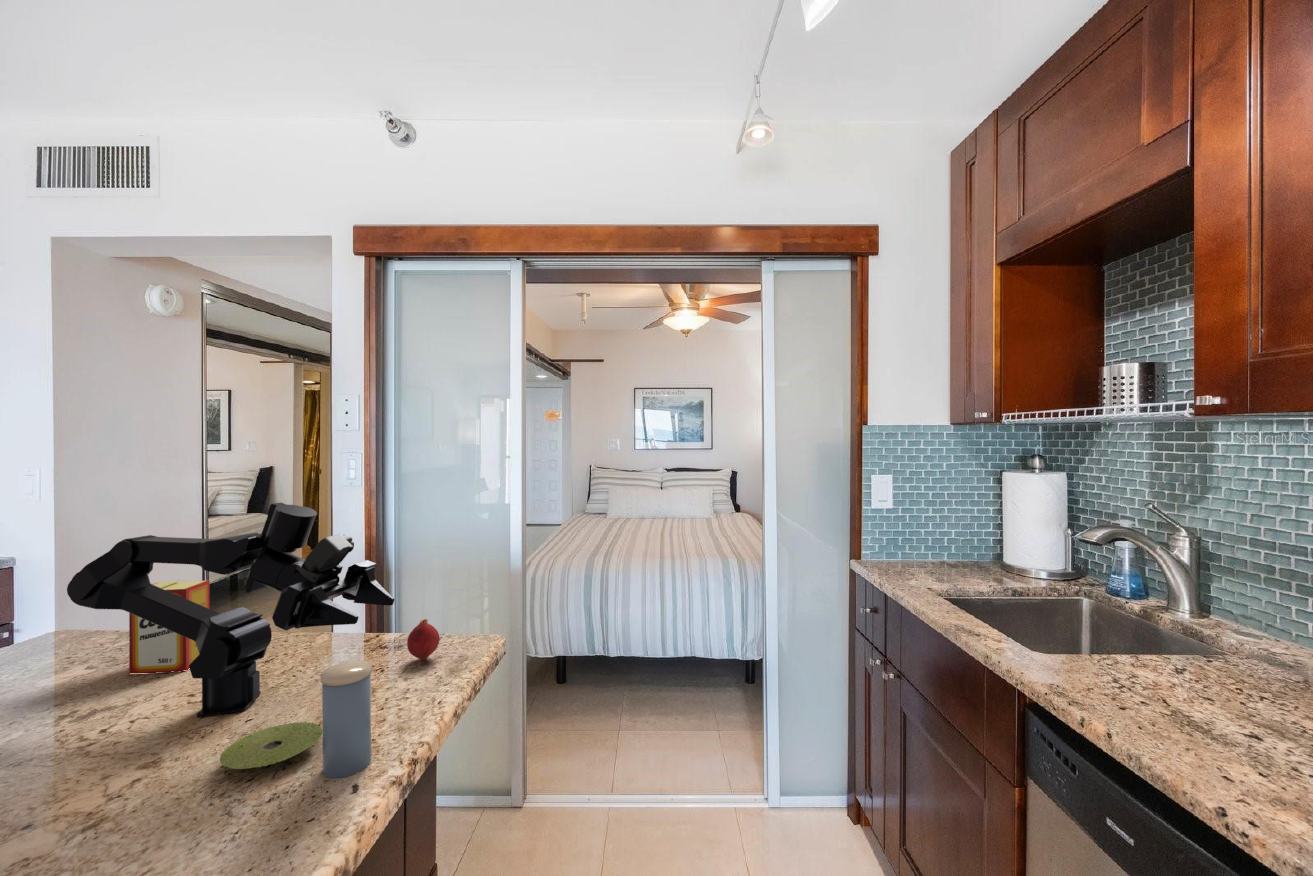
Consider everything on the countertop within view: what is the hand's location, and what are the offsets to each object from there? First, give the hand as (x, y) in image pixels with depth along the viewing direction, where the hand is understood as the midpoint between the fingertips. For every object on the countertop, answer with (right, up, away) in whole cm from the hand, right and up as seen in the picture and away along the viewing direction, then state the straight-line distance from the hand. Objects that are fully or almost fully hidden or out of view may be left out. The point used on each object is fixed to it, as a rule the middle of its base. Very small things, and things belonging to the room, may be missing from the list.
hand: (376, 611), depth 84 cm
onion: (-1, -16, +20) cm, 26 cm away
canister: (+4, -16, -15) cm, 22 cm away
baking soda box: (-50, -17, +19) cm, 56 cm away
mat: (-7, -16, -13) cm, 22 cm away
